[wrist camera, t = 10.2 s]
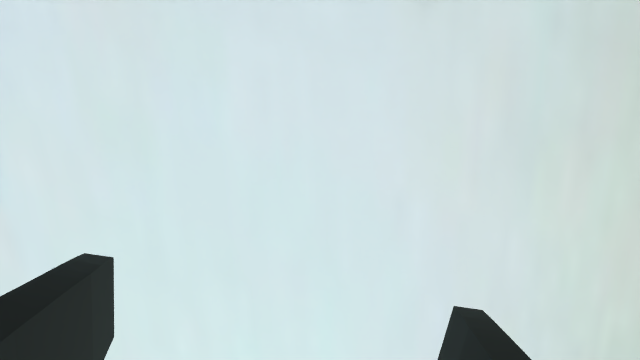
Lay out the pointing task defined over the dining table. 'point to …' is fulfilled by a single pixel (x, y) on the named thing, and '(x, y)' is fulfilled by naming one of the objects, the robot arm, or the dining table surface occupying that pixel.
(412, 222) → the dining table surface
